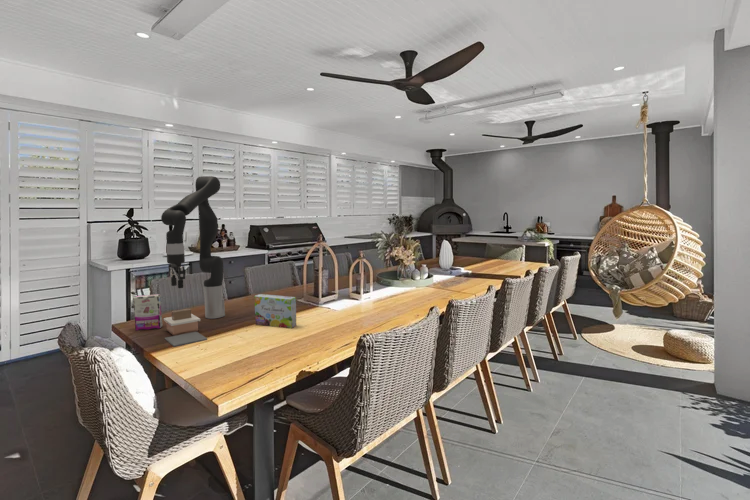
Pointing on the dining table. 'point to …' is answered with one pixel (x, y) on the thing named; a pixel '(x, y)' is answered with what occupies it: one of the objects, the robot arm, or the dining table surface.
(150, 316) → the candy bar box
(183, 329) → the dish
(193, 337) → the mat
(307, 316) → the dining table surface
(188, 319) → the lid
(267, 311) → the snack box
